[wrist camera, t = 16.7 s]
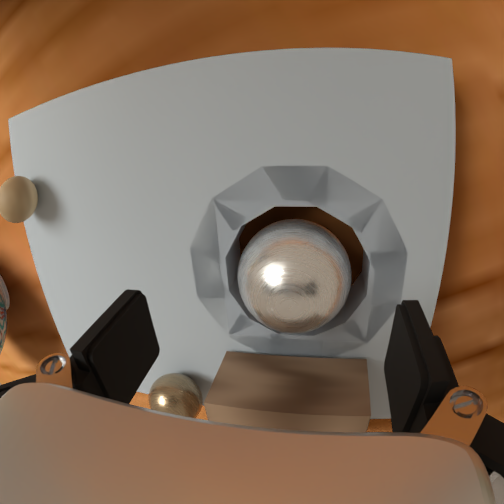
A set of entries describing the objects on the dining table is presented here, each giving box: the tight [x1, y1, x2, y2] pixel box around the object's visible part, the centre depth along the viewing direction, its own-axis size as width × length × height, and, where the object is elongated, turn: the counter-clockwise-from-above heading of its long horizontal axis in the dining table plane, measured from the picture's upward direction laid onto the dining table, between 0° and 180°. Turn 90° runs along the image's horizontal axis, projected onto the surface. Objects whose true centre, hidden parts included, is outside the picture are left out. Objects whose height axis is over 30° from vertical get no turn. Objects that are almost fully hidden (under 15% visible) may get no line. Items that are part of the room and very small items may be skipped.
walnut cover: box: [204, 351, 371, 432], centre depth 18 cm, size 9×9×5 cm
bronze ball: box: [149, 373, 203, 418], centre depth 20 cm, size 4×4×4 cm
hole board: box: [8, 48, 456, 419], centre depth 20 cm, size 28×23×3 cm
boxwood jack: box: [0, 176, 38, 223], centre depth 17 cm, size 3×3×3 cm
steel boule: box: [237, 219, 351, 334], centre depth 17 cm, size 6×6×6 cm
